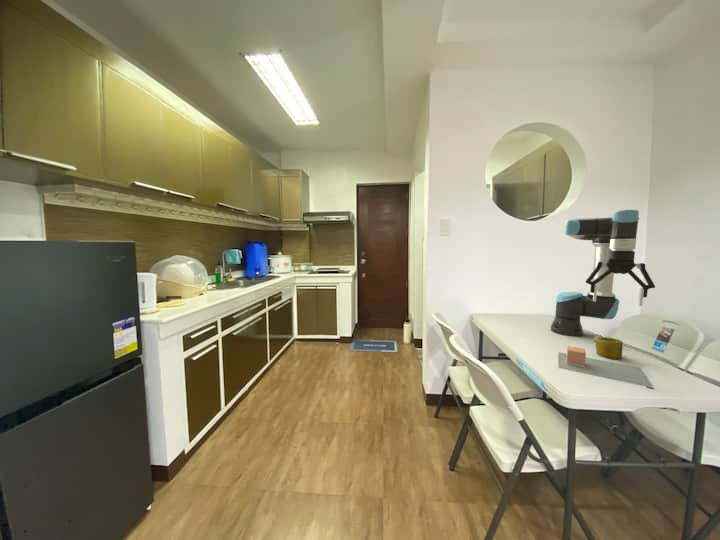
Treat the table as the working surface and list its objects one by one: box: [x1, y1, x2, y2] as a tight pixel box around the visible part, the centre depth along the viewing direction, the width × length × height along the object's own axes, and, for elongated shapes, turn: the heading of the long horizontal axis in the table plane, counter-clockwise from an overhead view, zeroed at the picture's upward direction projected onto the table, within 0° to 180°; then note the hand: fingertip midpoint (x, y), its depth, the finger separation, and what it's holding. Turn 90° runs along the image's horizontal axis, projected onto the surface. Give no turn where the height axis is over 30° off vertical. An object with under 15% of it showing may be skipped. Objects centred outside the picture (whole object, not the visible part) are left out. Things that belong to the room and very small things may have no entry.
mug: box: [593, 336, 624, 360], centre depth 130 cm, size 12×10×10 cm
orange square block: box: [566, 345, 587, 367], centre depth 121 cm, size 6×6×6 cm
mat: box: [557, 351, 654, 390], centre depth 117 cm, size 20×28×1 cm
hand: (616, 303), depth 113 cm, fingers open, 13 cm apart
